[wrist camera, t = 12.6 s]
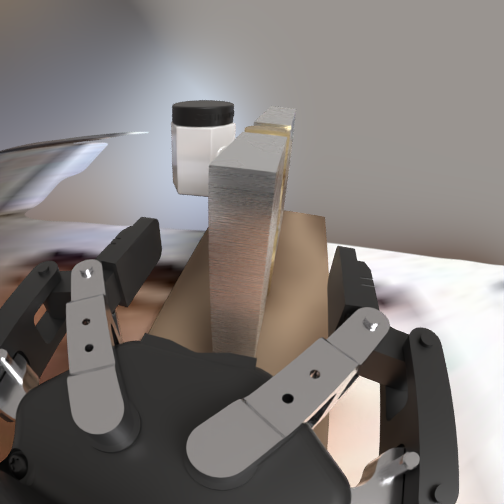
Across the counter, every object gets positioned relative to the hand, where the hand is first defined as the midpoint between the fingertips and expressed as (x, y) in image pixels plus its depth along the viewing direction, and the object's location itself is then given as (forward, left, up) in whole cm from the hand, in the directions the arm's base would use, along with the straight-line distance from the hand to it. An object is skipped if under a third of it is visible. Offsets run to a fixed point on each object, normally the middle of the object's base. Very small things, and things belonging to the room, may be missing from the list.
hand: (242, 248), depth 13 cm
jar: (-11, +27, -9) cm, 31 cm away
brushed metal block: (0, +3, -8) cm, 9 cm away
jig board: (0, +7, -9) cm, 12 cm away
